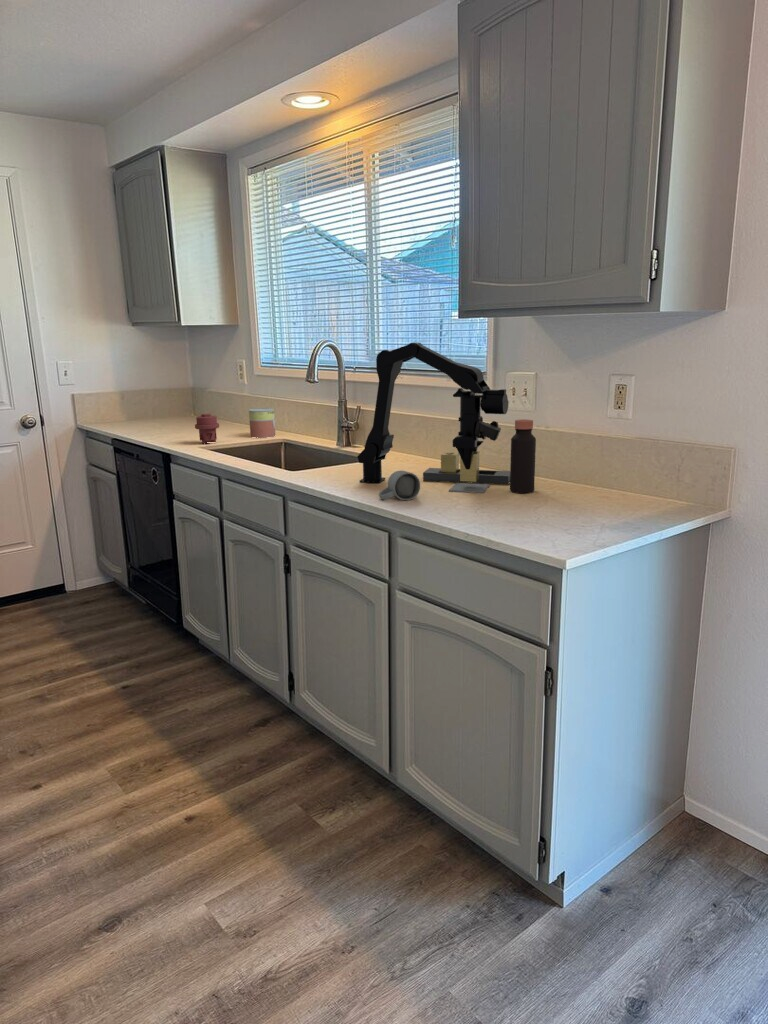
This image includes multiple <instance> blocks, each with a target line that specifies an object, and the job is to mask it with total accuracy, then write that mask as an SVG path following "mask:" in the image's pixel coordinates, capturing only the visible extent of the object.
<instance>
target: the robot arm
mask: <svg viewBox="0 0 768 1024" xmlns="http://www.w3.org/2000/svg"><path fill="white" fill-rule="evenodd" d="M412 359H416V360H418V361H420V362H422V363H424V364H426V365H428V366H430V367H431V368H434V369H435V370H438V371H439V372H441V373H444V374H445V375H446V376H448V377H449V378H450V380H451V381H452V382H453V383H455V384H457V386H459V387H460V388H458V389H457V390H456V392H455V393H454V394H452V398H453V397H454V398H460V399H459V400H460V401H459V411H460V412H459V417H458V422H459V431H458V433H457V436H455V437H454V438H453V439H452V447H453V448H455V449H456V451H457V453H459V458H460V457H461V459H462V461H463V464H464V466H465V468H466V469H470V466H471V460H472V455H473V451H478V448H479V447H481V445H482V444H483V443H484V440H486V438H488V439H490V441H496V440H497V439H498V437H499V435H500V433H501V429H502V428H501V427H499V422H498V421H496V420H493V421H491V422H490V423H489V422H485V421H483V420H484V419H483V416H482V415H481V411H482V412H483V413H484V414H487V415H507V413H508V410H509V403H510V402H509V400H508V399H509V397H508V394H507V389H505V388H504V389H503V388H502V389H491V388H490V387H489V385H488V384H487V382H486V381H485V379H484V374H483V371H482V370H481V369H480V368H478V367H475V366H472V365H468V364H465V363H459V362H456V361H454V360H452V359H451V358H448V357H446V356H445V355H443V354H440V353H439V352H437V351H436V350H433V349H432V348H430V347H427V346H425V345H423V344H422V343H421V342H420V341H419V342H418V341H416V342H409V343H408V344H406V345H403V346H400V347H397V348H395V349H394V348H393V349H384V350H382V351H380V352H378V354H377V355H376V360H375V361H376V363H375V365H376V373H377V376H378V386H377V393H376V401H375V408H374V414H373V421H372V424H373V425H372V427H371V430H370V431H369V433H368V435H367V436H366V437H367V438H366V441H365V444H364V449H363V450H362V451H361V452H360V453H359V454H358V455H357V460H358V463H359V464H362V478H361V479H359V483H368V484H372V483H373V484H380V483H382V482H383V481H384V480H386V477H383V476H382V471H383V470H382V466H383V465H382V461H383V460H385V459H386V457H387V454H388V453H390V450H391V449H392V448H393V446H394V445H393V440H394V438H395V437H394V436H395V434H390V431H389V423H390V417H391V411H392V410H391V409H392V404H393V397H394V388H395V383H396V380H397V378H398V376H399V375H400V373H401V369H402V367H403V364H404V363H406V362H409V361H411V360H412ZM480 439H482V440H480Z"/></svg>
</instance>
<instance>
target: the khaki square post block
mask: <svg viewBox="0 0 768 1024" xmlns="http://www.w3.org/2000/svg"><path fill="white" fill-rule="evenodd" d="M440 468H441V473H459V469H460V455H459V452H453V451H452V452H450V451H447V452H446V451H444V452H443V453H441V454H440Z"/></svg>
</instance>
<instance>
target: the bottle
mask: <svg viewBox="0 0 768 1024" xmlns="http://www.w3.org/2000/svg"><path fill="white" fill-rule="evenodd" d="M533 428H534V420H533V419H516V420H514V430H515V434H513V436H512V437H511V438H510V465H509V466H510V467H509V468H510V469H509V471H510V483H509V491H510V492H511V491H512V493H514V492H518V493H517V494H529V493H528V492H531V493H533V492H534V491H535V482H536V481H535V480H536V479H535V477H536V448H537V447H536V446H537V439H536V437H535V436H534V435H533V433H532V431H533Z"/></svg>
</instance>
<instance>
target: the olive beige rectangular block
mask: <svg viewBox="0 0 768 1024" xmlns="http://www.w3.org/2000/svg"><path fill="white" fill-rule="evenodd" d="M459 469H460V481H470V482H476V481H477V480H478V479H479V470H480V451H479V450H477V451H473V455H472V460H471V466H470V469H466V468H465V466H464V464H463V461H462V459H461V457H460V456H459Z"/></svg>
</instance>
